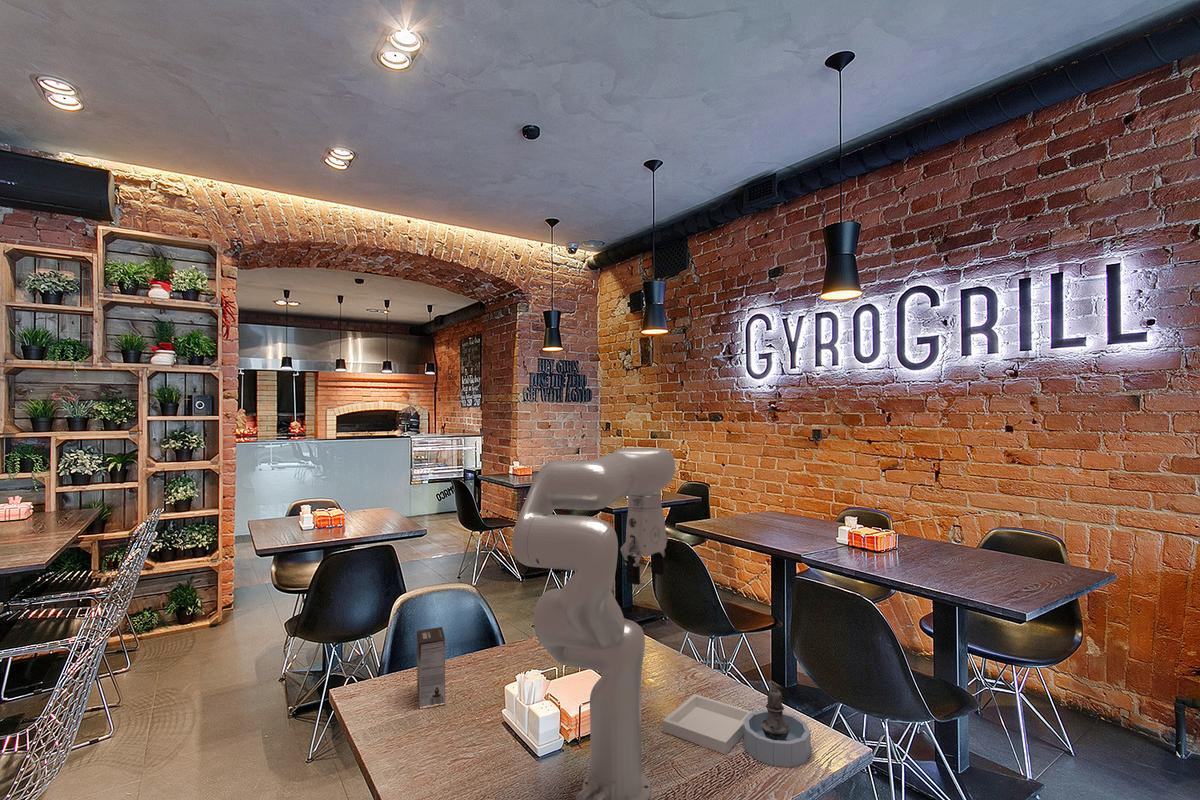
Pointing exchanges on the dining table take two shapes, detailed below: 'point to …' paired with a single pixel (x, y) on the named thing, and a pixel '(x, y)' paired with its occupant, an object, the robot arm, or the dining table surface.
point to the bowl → (777, 741)
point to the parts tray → (707, 723)
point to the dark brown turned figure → (775, 717)
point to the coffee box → (431, 666)
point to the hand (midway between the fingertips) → (645, 578)
